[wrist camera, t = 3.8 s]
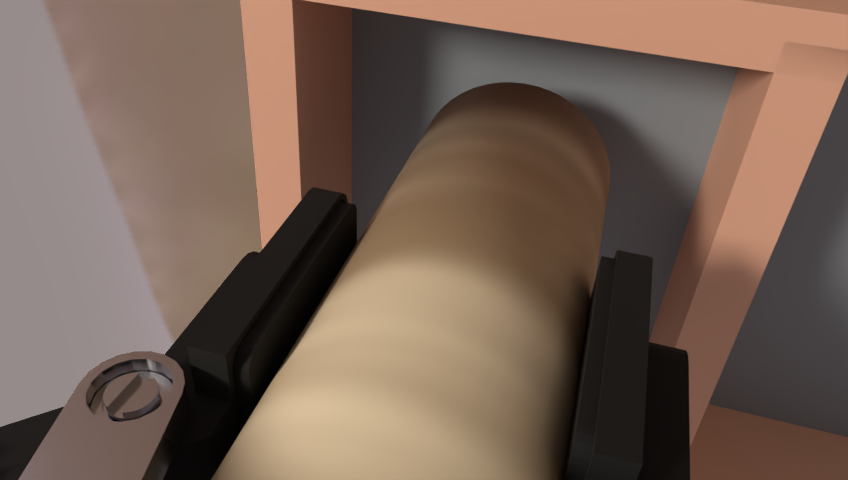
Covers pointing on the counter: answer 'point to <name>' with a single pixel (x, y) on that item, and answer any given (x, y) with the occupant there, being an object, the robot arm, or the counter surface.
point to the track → (621, 172)
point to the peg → (450, 310)
